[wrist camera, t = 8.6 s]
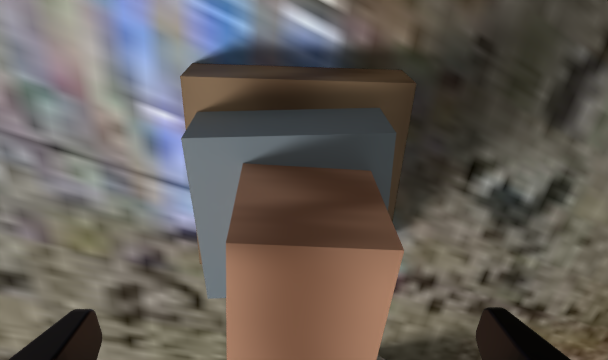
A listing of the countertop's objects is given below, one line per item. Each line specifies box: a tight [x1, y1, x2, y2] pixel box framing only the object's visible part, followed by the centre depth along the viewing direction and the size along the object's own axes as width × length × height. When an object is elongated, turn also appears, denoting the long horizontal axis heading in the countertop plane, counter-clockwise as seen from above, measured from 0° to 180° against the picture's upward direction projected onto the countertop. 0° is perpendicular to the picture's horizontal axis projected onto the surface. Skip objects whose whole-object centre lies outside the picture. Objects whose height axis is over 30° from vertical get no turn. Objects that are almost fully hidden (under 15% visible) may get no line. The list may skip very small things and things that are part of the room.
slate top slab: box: [181, 108, 396, 298], centre depth 18 cm, size 8×8×3 cm
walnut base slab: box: [180, 63, 416, 264], centre depth 21 cm, size 10×10×3 cm
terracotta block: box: [226, 163, 404, 360], centre depth 15 cm, size 5×5×5 cm
